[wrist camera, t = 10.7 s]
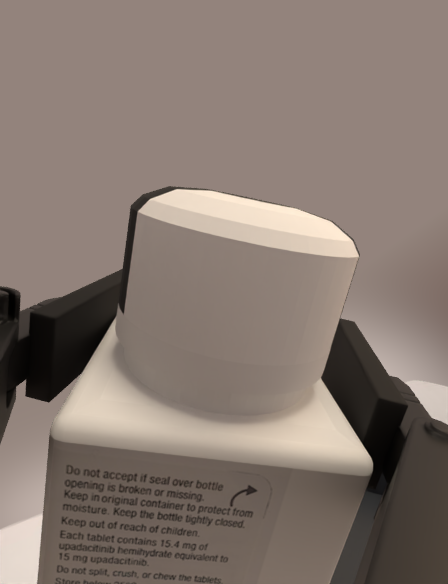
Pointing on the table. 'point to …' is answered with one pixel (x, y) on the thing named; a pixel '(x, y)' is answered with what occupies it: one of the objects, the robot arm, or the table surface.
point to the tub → (358, 535)
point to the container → (210, 406)
